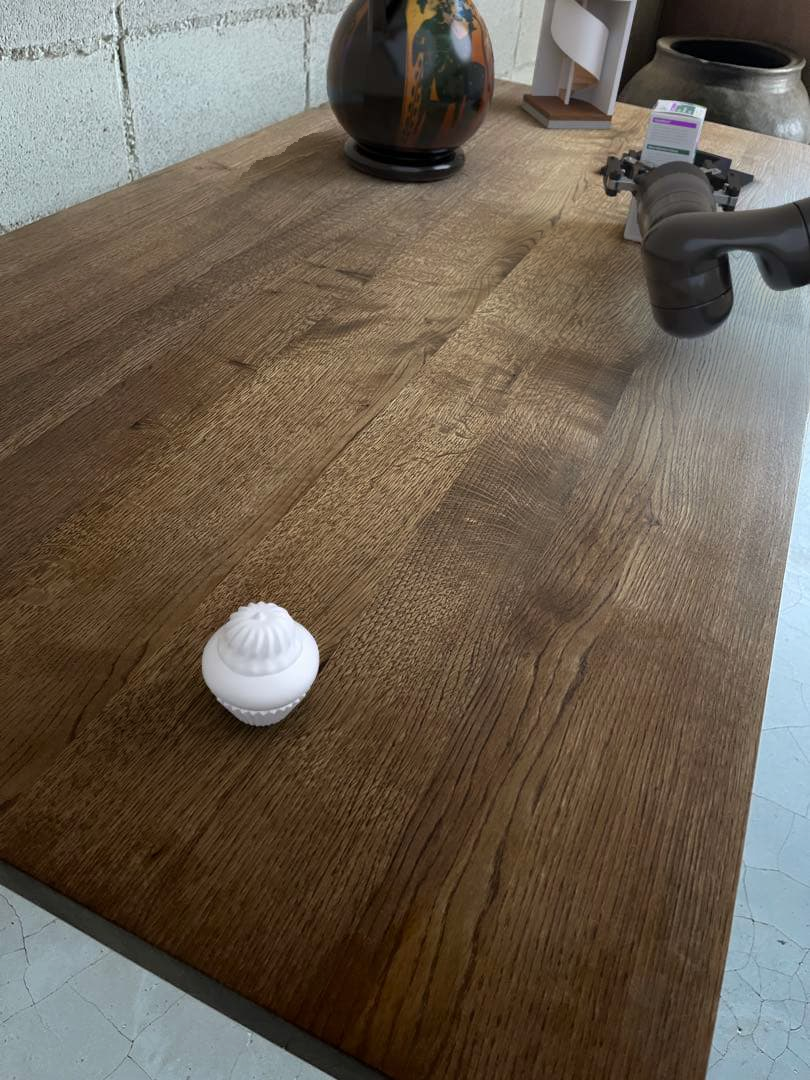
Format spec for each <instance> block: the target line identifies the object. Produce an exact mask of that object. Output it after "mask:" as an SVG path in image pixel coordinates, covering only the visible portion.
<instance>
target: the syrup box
mask: <svg viewBox="0 0 810 1080" xmlns="http://www.w3.org/2000/svg"><path fill="white" fill-rule="evenodd" d="M706 114H707V107H705V106H703V105H700V104H696V103H691V102H686V101H679V100H666V99H658V100H657V101H656V103H655V105H654V106H653V107H652V109H651V111H650V114H649V117H648V118H649V119H648V124H647V128H646V131H645V137H644V141H643V146H642V149H641V150H642V154H641V158H640V160H648V161H650V162H652V163H654V164H656V165H658V166H660V165H662V164H665V163H668V162H673V161H684V162H688V163H691V164H693V163H694V159H695V154H696V150H698V145H699V141H700V137H701V133H702V129H703V125H704V121H705V118H706ZM647 172H649V171H647ZM631 195H632V194H631ZM629 205H630V206H629V209H628V213H627V218H626V222H625V227H624V231H623V238H624V239H626V240H629V241H632V242H636V243H637V242H638V243H642V241H643V240H642V237H641V235H640V231H639V225H638V223H637V202H636V198H635V197H634V196H633V195H632V196H631V200H630V204H629Z"/></svg>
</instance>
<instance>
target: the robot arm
mask: <svg viewBox="0 0 810 1080" xmlns="http://www.w3.org/2000/svg"><path fill="white" fill-rule="evenodd" d="M636 152H637V151H636V150H635V149H629V150H628V152H623V153H622V154H621V159H620V158H619V157H617V156H614V155H610V156H607V158H606V165H605V166H606V169H605V174H603V177H602V181H603V182H602V184H603V188H604V193H605V196H608V197H610V198H614V197H617V196H618V194H621V191H626V192H630V193H631V195H633V196H634V197H635V198H636V202H637V223H638V225H639V231H640V235H641V237H642V240H643V241H642V242H640V243H641V244H640V258H641V263H642V268H643V273H644V276H645V282H646V283H645V284H646V288H647V293H648V298H649V304H650V309H651V313H652V318H653V320H654V322H655V324H656V326H658V328H659V329H660V330H661V331H663V332H664V333H666V334H667V335H669V336H671V337H674V338H676V339H682V340H696V339H700V338H704V337H706V336H709V335H711V334H712V333H714V332H716V331H717V330H718V329H720V328H721V327H722V326H723V324H725V323H726V322H727V320H728V319H729V317H730V315H731V314H732V311H733V308H734V303H735V293H734V285H733V278H732V272H731V271H732V270H731V263H730V256H729V253H730V252H735V251H741V252H742V251H743V252H747V253H751V254H752V256H753V258H754V261H755V264H756V266H757V270H758V271H759V274H760V276H761V278H762V281H763V282H764V284H765V285H766V287H768V288H769V289H770V290H772V291H774V292H785V291H790V290H795V289H798V288H802V287H805V286H809V285H810V196H808V197H804V198H801V199H798V200H795V201H792V202H787V203H783V204H781V205H777V206H771V207H764V208H756V209H748V210H747V209H745V210H736V207H737V204H738V199H739V197H740V193H741V191H742V187H740V181H739V176H738V174H736V173H734V172H731V173H727V176H723V175H721V170H719V169H718V168H717V166H715V165H712V162H711V160H704V163H703V166H702V167H701V168H699V167H697V166H695V165H694V164H691V163H688V162H684V161H673V162H668V163H665V164H662V165H660V166H658V165H656V164H654V163H652V162H650V161H648V160H640V161H638V160H636ZM619 160H621V161H619ZM633 171H634V172H633ZM647 171H649V172H647ZM632 175H633V176H632ZM717 207H718V208H721V211H718V208H717Z"/></svg>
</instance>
